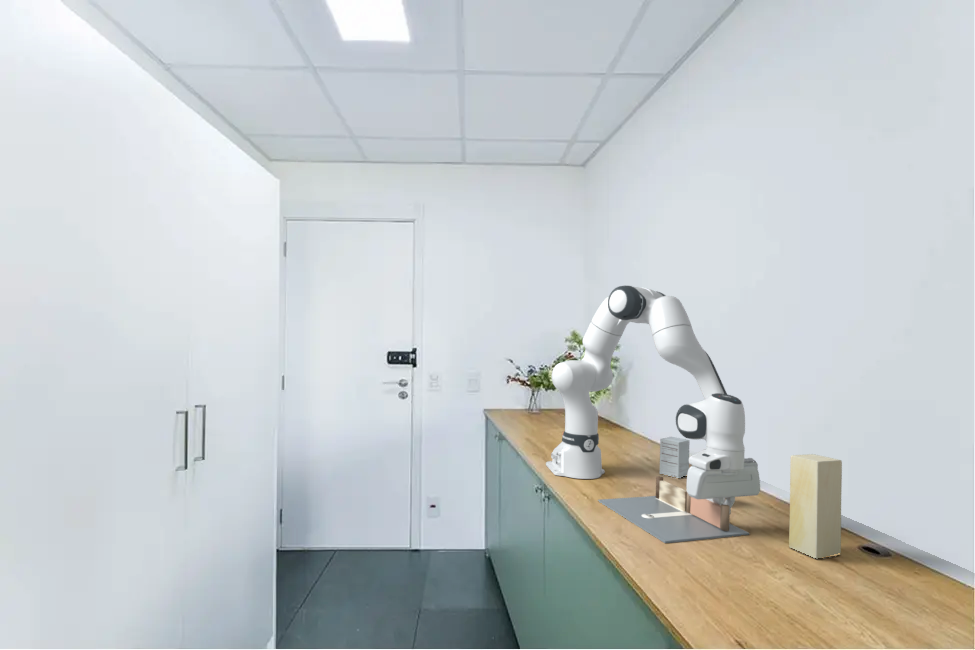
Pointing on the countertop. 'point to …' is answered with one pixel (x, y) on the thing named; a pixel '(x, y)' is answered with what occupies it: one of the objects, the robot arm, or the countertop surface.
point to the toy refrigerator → (815, 505)
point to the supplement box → (674, 457)
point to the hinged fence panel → (709, 512)
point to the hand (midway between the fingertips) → (723, 514)
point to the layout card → (667, 520)
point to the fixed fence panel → (671, 494)
